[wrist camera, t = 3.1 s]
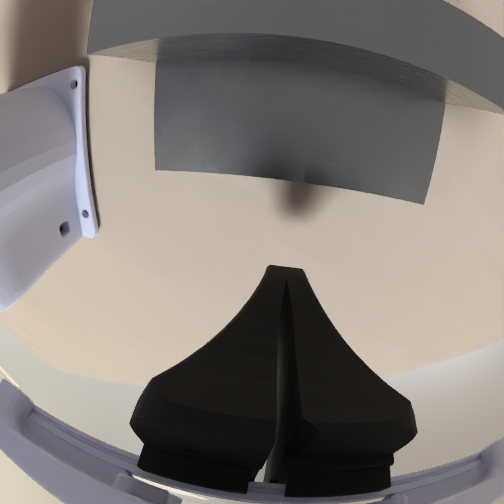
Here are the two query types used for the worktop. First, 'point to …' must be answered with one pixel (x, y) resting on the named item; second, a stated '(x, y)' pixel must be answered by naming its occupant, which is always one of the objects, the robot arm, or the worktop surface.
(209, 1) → the bookend
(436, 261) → the worktop surface
